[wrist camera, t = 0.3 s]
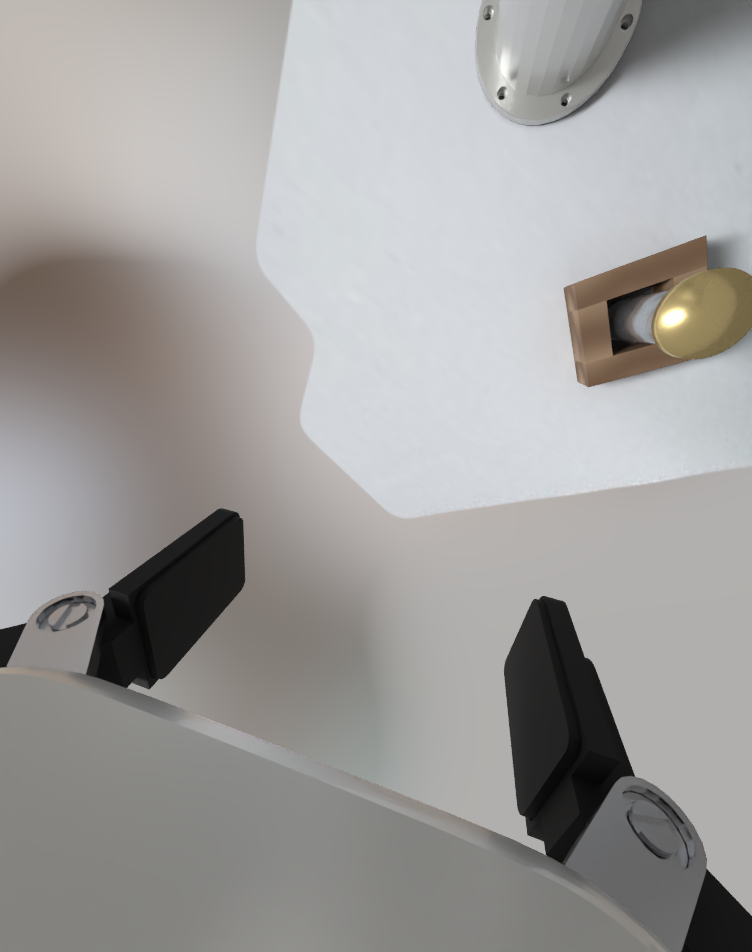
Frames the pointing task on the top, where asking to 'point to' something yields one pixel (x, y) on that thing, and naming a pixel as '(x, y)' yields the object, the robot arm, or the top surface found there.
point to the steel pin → (689, 315)
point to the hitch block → (593, 323)
